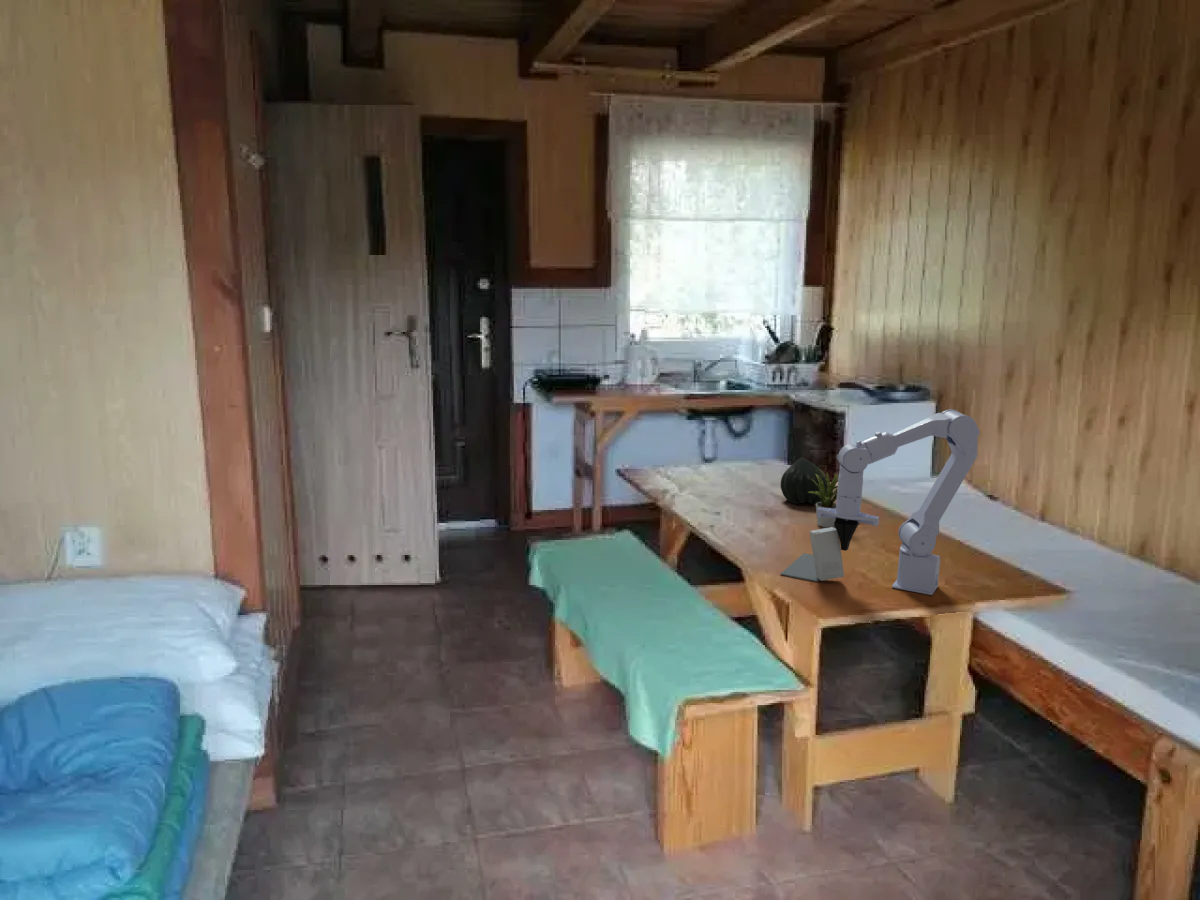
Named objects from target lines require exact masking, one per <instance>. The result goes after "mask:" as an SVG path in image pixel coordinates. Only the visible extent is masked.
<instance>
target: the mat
mask: <svg viewBox="0 0 1200 900" xmlns="http://www.w3.org/2000/svg"><path fill="white" fill-rule="evenodd" d="M780 574H781V575H780ZM780 574H779V575H780V576H782V575H785V576H784V577H787V576H789V578H794V579H798V580H802V581H808V580H809V581H808V582H814V583H819V581H820V580H819V579H818V578H817V577H816V572H815V565H814V558H813V553H812V554H810V553H804V552H803V553H802V554H801V555H800V556H799V557H797V558H796V559H795V560H794V561H793V562H792V563H790V564H789V566H787V567H786V568H785V569H784V570H782V571H781V572H780Z"/></svg>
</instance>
